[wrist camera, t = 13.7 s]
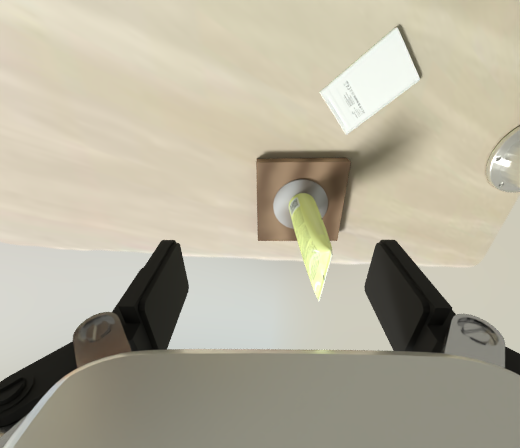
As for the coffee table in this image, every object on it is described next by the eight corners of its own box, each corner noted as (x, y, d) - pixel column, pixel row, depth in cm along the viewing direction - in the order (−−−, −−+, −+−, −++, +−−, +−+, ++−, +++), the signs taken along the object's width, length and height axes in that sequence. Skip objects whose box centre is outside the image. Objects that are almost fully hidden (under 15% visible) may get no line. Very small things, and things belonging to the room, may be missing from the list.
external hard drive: (415, 80, 38) (344, 133, 42) (392, 28, 35) (318, 91, 39) (421, 80, 36) (347, 135, 40) (397, 26, 33) (320, 92, 37)
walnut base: (346, 157, 43) (351, 162, 41) (334, 234, 51) (337, 242, 49) (256, 158, 43) (256, 163, 41) (258, 234, 51) (257, 242, 49)
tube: (322, 209, 45) (356, 284, 28) (299, 223, 47) (318, 303, 30) (305, 186, 43) (332, 253, 26) (282, 202, 44) (293, 275, 27)
